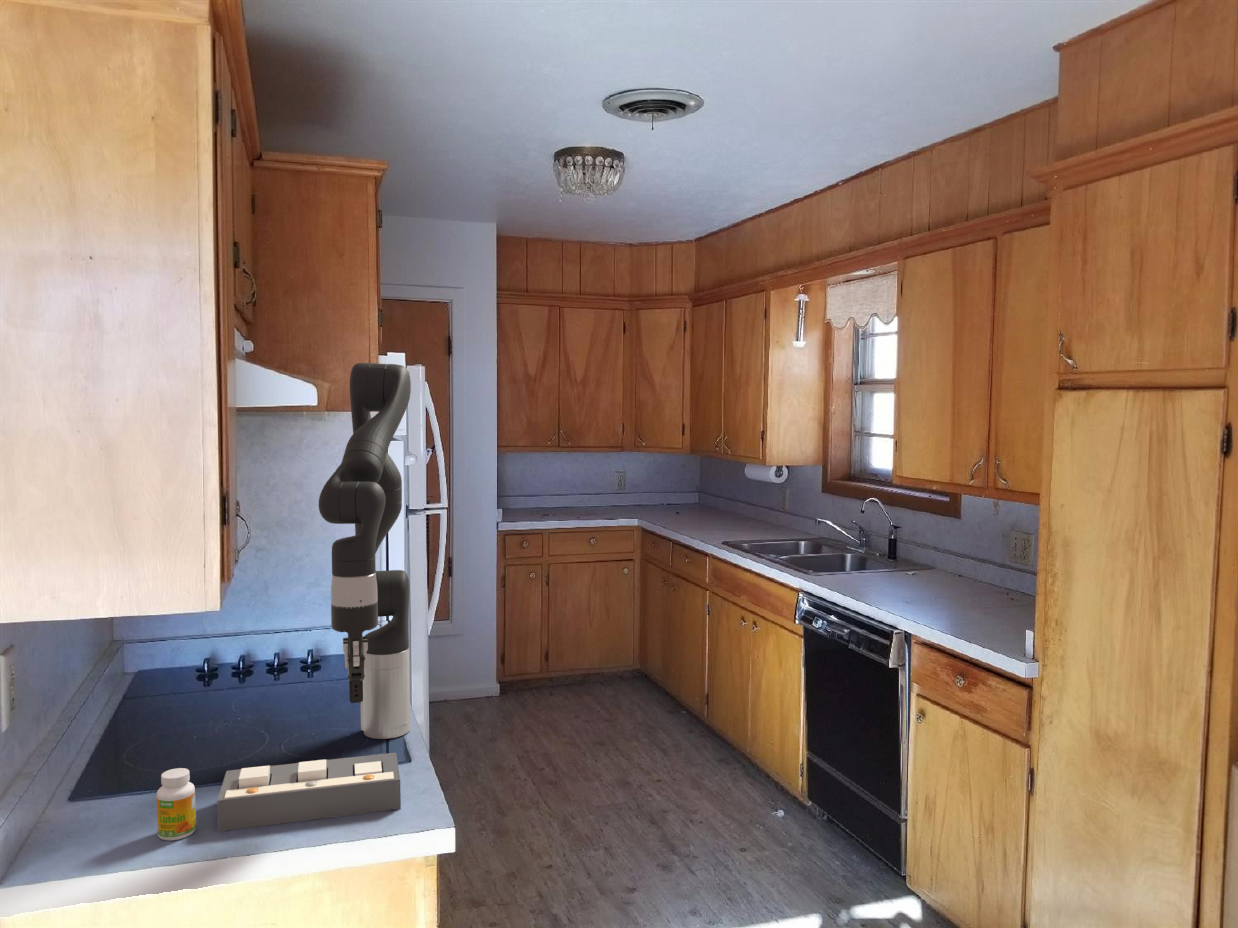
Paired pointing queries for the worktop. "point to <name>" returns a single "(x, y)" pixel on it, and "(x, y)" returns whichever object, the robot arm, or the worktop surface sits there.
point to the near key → (254, 777)
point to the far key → (368, 768)
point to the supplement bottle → (176, 805)
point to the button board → (309, 794)
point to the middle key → (312, 770)
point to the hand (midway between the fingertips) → (356, 701)
